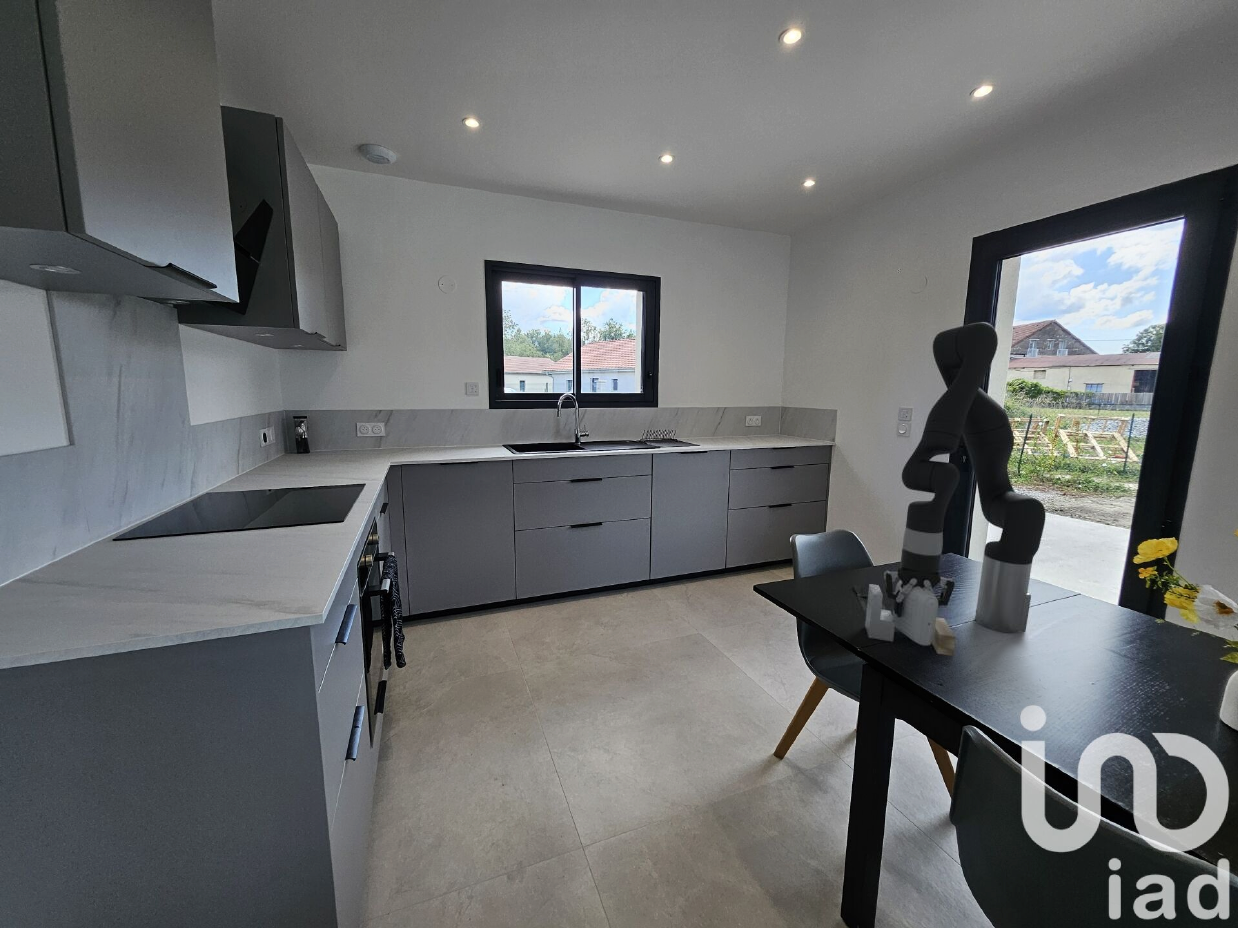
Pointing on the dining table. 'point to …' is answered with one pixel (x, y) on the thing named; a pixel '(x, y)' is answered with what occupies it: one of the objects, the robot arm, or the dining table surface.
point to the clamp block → (943, 638)
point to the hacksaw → (857, 590)
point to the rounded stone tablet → (918, 615)
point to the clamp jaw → (878, 616)
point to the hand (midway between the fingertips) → (913, 617)
